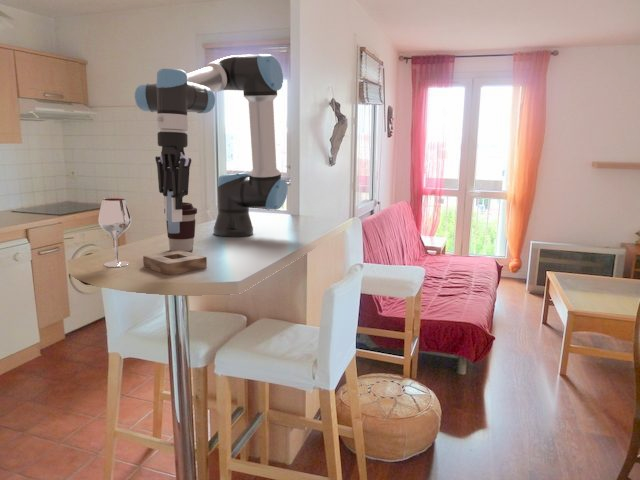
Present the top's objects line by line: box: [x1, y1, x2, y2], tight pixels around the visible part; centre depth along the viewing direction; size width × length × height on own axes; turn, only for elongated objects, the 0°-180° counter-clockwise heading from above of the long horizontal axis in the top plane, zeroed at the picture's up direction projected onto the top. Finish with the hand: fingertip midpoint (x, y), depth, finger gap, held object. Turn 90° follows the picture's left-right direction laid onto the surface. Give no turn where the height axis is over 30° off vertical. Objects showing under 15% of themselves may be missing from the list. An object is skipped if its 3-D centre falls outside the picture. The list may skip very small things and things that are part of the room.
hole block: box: [142, 250, 208, 276], centre depth 132 cm, size 12×12×3 cm
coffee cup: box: [163, 201, 198, 252], centre depth 153 cm, size 10×10×15 cm
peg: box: [167, 191, 180, 234], centre depth 129 cm, size 3×3×11 cm
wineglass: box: [98, 197, 132, 268], centre depth 131 cm, size 8×8×18 cm
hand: (173, 220), depth 130 cm, fingers closed on peg, 2 cm apart
